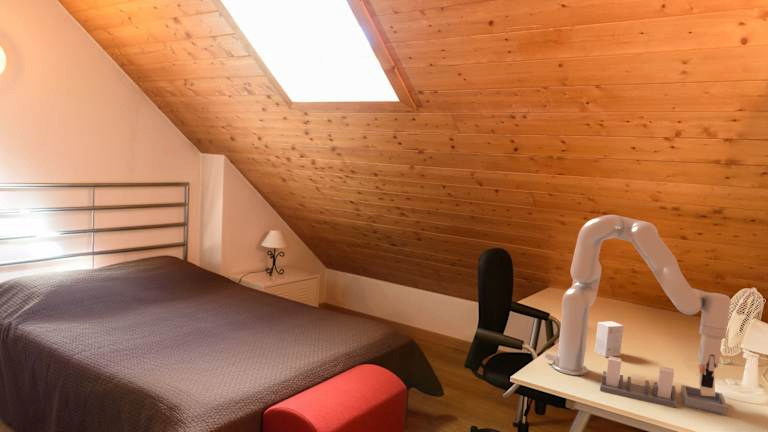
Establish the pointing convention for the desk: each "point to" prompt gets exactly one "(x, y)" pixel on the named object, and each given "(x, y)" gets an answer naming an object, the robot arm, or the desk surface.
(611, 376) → the fuse holder
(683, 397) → the grey tray
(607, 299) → the desk surface
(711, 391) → the marked fuse
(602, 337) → the small box
